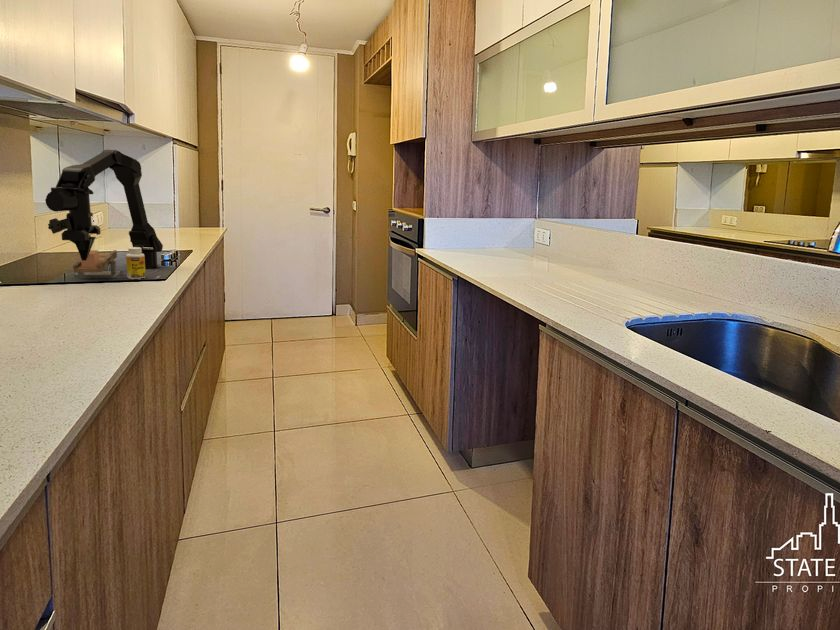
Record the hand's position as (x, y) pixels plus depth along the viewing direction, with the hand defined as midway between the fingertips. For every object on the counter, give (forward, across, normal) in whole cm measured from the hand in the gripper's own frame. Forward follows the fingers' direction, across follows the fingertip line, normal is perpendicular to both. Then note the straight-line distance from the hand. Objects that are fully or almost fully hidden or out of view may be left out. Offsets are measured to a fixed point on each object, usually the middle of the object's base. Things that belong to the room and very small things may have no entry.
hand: (84, 260), depth 183 cm
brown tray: (+3, -14, 0) cm, 14 cm away
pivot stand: (+7, -14, 0) cm, 16 cm away
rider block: (+3, -7, 0) cm, 7 cm away
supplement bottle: (+8, -9, +13) cm, 17 cm away
